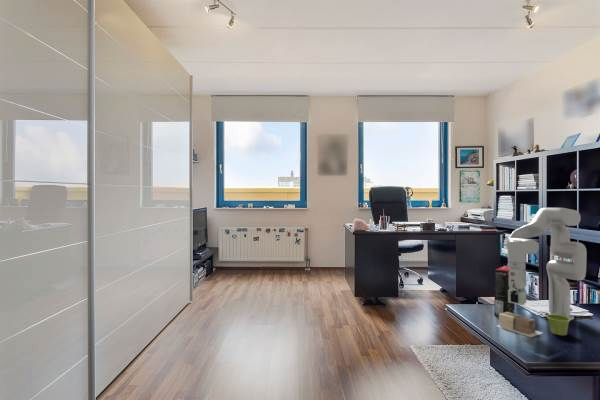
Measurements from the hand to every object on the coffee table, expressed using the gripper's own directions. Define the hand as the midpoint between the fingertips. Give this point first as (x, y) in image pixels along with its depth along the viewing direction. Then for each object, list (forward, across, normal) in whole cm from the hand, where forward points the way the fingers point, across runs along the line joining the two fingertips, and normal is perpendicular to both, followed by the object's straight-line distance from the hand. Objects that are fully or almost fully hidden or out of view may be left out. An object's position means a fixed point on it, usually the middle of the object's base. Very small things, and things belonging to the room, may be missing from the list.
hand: (517, 300), depth 174 cm
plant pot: (+16, +9, -14) cm, 23 cm away
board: (+15, 0, -1) cm, 15 cm away
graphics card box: (+16, +21, +14) cm, 29 cm away
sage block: (+1, 0, 0) cm, 1 cm away
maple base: (+14, +1, +4) cm, 15 cm away
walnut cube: (+14, -1, -4) cm, 15 cm away
